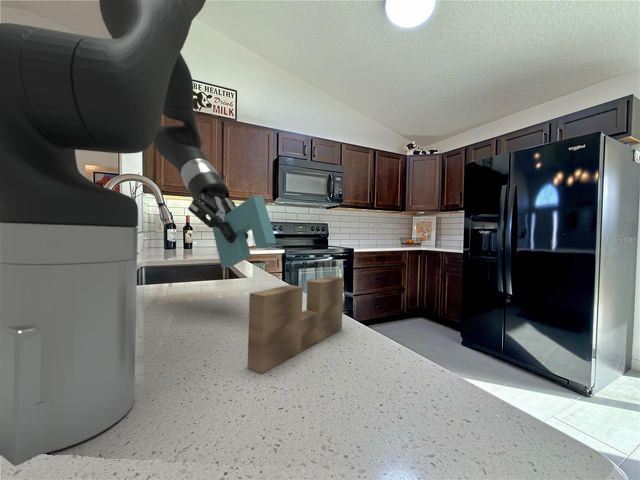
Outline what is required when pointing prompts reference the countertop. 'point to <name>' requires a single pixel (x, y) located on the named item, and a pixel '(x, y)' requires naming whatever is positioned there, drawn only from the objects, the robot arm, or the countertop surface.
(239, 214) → the teal l-shaped piece
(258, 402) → the countertop surface
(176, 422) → the countertop surface
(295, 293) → the u-shaped wooden block
